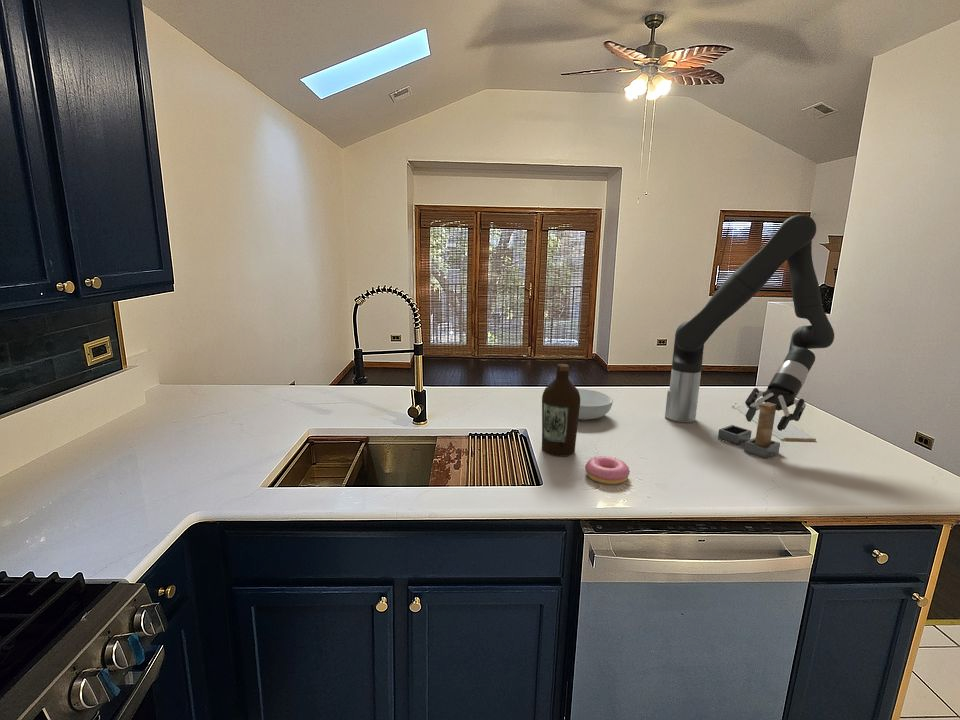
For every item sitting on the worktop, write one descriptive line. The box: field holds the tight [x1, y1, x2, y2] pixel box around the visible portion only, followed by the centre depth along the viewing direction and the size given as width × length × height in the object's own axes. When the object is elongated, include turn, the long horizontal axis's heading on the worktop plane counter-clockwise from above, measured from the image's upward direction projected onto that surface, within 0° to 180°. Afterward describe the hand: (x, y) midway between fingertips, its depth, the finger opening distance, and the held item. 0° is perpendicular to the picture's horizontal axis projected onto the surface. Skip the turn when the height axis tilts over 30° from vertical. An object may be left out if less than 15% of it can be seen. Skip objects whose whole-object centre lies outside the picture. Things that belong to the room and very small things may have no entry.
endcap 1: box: [717, 424, 752, 446], centre depth 152 cm, size 6×8×3 cm
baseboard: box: [732, 402, 817, 442], centre depth 168 cm, size 31×3×12 cm
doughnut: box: [585, 455, 631, 486], centre depth 126 cm, size 11×11×4 cm
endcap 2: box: [743, 437, 781, 460], centre depth 143 cm, size 6×8×3 cm
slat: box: [755, 402, 777, 447], centre depth 142 cm, size 2×4×14 cm, turn 127°
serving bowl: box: [577, 388, 614, 421], centre depth 172 cm, size 21×21×7 cm
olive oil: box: [541, 363, 580, 457], centre depth 140 cm, size 11×11×25 cm
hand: (763, 424), depth 141 cm, fingers open, 8 cm apart
